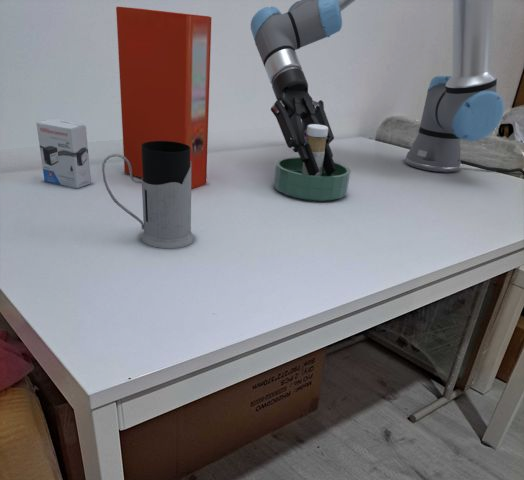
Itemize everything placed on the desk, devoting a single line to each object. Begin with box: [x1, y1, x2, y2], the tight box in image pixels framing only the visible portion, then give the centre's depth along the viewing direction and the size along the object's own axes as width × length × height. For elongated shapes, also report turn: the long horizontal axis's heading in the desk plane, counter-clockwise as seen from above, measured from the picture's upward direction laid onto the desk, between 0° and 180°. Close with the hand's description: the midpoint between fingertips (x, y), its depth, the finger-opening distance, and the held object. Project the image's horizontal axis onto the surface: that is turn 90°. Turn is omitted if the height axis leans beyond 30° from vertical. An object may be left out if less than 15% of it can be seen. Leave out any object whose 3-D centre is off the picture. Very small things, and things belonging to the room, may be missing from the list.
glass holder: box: [101, 141, 194, 249], centre depth 84 cm, size 9×14×15 cm, turn 107°
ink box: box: [35, 118, 92, 189], centre depth 107 cm, size 8×5×12 cm, turn 68°
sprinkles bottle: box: [302, 124, 328, 176], centre depth 116 cm, size 5×5×14 cm
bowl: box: [273, 156, 352, 202], centre depth 118 cm, size 17×17×6 cm
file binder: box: [115, 6, 212, 190], centre depth 110 cm, size 8×17×32 cm, turn 58°
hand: (323, 173), depth 115 cm, fingers closed on sprinkles bottle, 4 cm apart
